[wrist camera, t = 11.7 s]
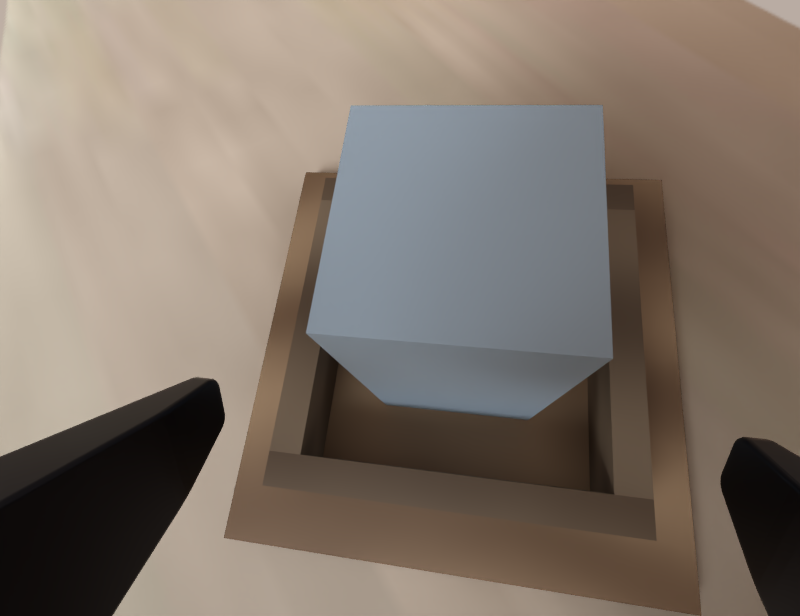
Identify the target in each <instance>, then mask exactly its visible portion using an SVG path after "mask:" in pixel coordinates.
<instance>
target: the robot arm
mask: <svg viewBox="0 0 800 616" xmlns="http://www.w3.org/2000/svg"><path fill="white" fill-rule="evenodd" d="M224 420H225V412H224V407H223V402H222V398H221V393H220V388H219V384H218V383H217V381H215V380H214V379H208V378H199V377H196V378H191V379H189V380H186V381H184V382H182V383H179V384H177V385H174V386H172V387H169V388H167V389H164V390H162V391H160V392H157V393H155V394H152V395H150V396H147V397H145V398H142V399H140V400H138V401H135V402H133V403H130V404H128V405H125V406H123V407H120V408H118V409H116V410H113V411H111V412H108V413H106V414H103V415H101V416H98V417H96V418H94V419H91V420H89V421H86V422H84V423H81V424H79V425H77V426H74V427H72V428H69V429H67V430H64V431H62V432H59V433H57V434H55V435H52V436H50V437H47V438H45V439H42V440H40V441H37V442H35V443H33V444H30V445H28V446H25V447H23V448H20V449H18V450H15V451H13V452H11V453H8V454H6V455H3V456H1V457H0V616H112V615H113V614H114V612H115V611H116V609H117V608H118V606H119V604H120V603H121V601H122V600H123V598H124V597H125V595H126V593H127V592H128V590H129V589H130V587H131V585H132V584H133V582H134V581H135V579H136V578H137V576H138V574H139V573H140V571H141V570H142V568H143V566H144V565H145V563H146V562H147V560H148V559H149V557H150V555H151V554H152V552H153V551H154V549H155V547H156V546H157V544H158V543H159V541H160V540H161V538H162V536H163V535H164V533H165V532H166V530H167V529H168V527H169V525H170V524H171V522H172V521H173V519H174V517H175V516H176V514H177V513H178V511H179V509H180V508H181V506H182V504H183V503H184V501H185V499H186V498H187V496H188V494H189V492H190V490H191V489H192V487H193V485H194V483H195V481H196V479H197V477H198V475H199V473H200V471H201V469H202V467H203V465H204V463H205V461H206V459H207V457H208V455H209V453H210V451H211V449H212V447H213V445H214V443H215V441H216V439H217V437H218V435H219V433H220V431H221V429H222V427H223V424H224ZM721 489H722V493H723V496H724V499H725V501H726V504H727V507H728V510H729V513H730V516H731V519H732V522H733V525H734V527H735V530H736V533H737V536H738V539H739V542H740V545H741V548H742V550H743V553H744V556H745V559H746V562H747V565H748V568H749V571H750V573H751V576H752V579H753V581H754V584H755V586H756V589H757V591H758V593H759V596H760V598H761V600H762V603H763V605H764V607H765V609H766V611H767V614H768V616H800V457H799V456H797V455H795V454H794V453H792V452H790V451H789V450H787V449H785V448H784V447H782V446H780V445H778V444H777V443H775V442H773V441H771V440H767V439H759V438H749V437H742V438H739V439H737V440H736V441H735V443H734V445H733V447H732V450H731V452H730V455H729V457H728V459H727V462H726V464H725V467H724V469H723V472H722V475H721Z"/></svg>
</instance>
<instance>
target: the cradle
mask: <svg viewBox="0 0 800 616" xmlns="http://www.w3.org/2000/svg"><path fill="white" fill-rule="evenodd" d="M337 174H338V173H311V172H306V175H305V179H304V184H303V188H302V193H301V197H300V201H299V206H298V210H297V215H296V219H295V224H294V228H293V233H292V237H291V241H290V246H289V250H288V255H287V259H286V264H285V268H284V273H283V277H282V281H281V286H280V290H279V295H278V299H277V304H276V308H275V313H274V317H273V321H272V326H271V330H270V335H269V339H268V344H267V348H266V353H265V357H264V361H263V366H262V370H261V375H260V379H259V384H258V388H257V393H256V397H255V401H254V406H253V410H252V415H251V419H250V424H249V428H248V433H247V437H246V441H245V446H244V450H243V455H242V459H241V464H240V468H239V473H238V477H237V481H236V486H235V490H234V495H233V499H232V504H231V508H230V513H229V517H228V521H227V526H226V530H225V535H224V538H228V539H234V540H240V541H246V542H253V543H259V544H265V545H271V546H277V547H283V548H289V549H295V550H302V551H308V552H314V553H320V554H326V555H332V556H338V557H344V558H351V559H357V560H363V561H369V562H375V563H381V564H387V565H393V566H400V567H406V568H412V569H418V570H424V571H430V572H436V573H442V574H449V575H455V576H461V577H467V578H473V579H479V580H485V581H491V582H498V583H504V584H510V585H516V586H522V587H528V588H534V589H540V590H547V591H553V592H559V593H565V594H571V595H577V596H583V597H589V598H596V599H602V600H608V601H614V602H620V603H626V604H632V605H638V606H645V607H651V608H657V609H663V610H669V611H675V612H681V613H687V614H694V615H700V616H701V605H700V595H699V584H698V573H697V562H696V551H695V540H694V529H693V518H692V507H691V496H690V486H689V475H688V464H687V453H686V442H685V431H684V420H683V409H682V398H681V387H680V377H679V366H678V355H677V344H676V333H675V322H674V311H673V300H672V289H671V278H670V267H669V257H668V246H667V235H666V224H665V213H664V202H663V191H662V180H633V179H606V197H607V222H608V246H609V271H610V295H611V320H612V344H613V359H612V360H611V361H609V362H608V363H606V364H605V365H604V366H602V367H601V368H599V369H598V370H597V371H595V372H594V373H593V374H591V375H590V376H588V377H587V378H586V379H584V380H583V381H581V382H580V383H579V384H577V385H576V386H575V387H573V388H572V389H570V390H569V391H568V392H566V393H565V394H564V395H562V396H561V397H559V398H558V399H557V400H555V401H554V402H552V403H551V404H550V405H548V406H547V407H546V408H544V409H543V410H541V411H540V412H539V413H537V414H536V415H535V416H533V417H532V418H530V419H529V420H522V419H513V418H503V417H494V416H485V415H475V414H466V413H456V412H447V411H438V410H428V409H419V408H410V407H400V406H391V405H385V404H384V403H383V402H382V401H381V400H380V399H379V398H378V397H377V396H375V395H374V394H373V393H372V392H371V391H370V390H369V389H368V388H367V387H365V386H364V385H363V384H362V383H361V382H360V381H359V380H358V379H356V378H355V377H354V376H353V375H352V374H351V373H350V372H349V371H348V370H346V369H345V368H344V367H343V366H342V365H341V364H340V363H339V362H338V361H336V360H335V359H334V358H333V357H332V356H331V355H330V354H329V353H328V352H326V351H325V350H324V349H323V348H322V347H321V346H320V345H319V344H317V343H316V342H315V341H314V340H313V339H312V338H311V337H310V336H309V335H307V334H306V330H307V325H308V320H309V315H310V310H311V305H312V300H313V295H314V290H315V285H316V280H317V275H318V270H319V264H320V259H321V254H322V249H323V244H324V239H325V234H326V229H327V224H328V219H329V214H330V209H331V204H332V199H333V194H334V189H335V184H336V179H337Z"/></svg>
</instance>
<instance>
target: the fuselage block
mask: <svg viewBox="0 0 800 616" xmlns="http://www.w3.org/2000/svg"><path fill="white" fill-rule="evenodd" d="M306 334H307V335H309V336H310V337H311V338H312V339H313V340H314V341H315V342H316V343H317V344H319V345H320V346H321V347H322V348H323V349H324V350H325V351H326V352H328V353H329V354H330V355H331V356H332V357H333V358H334V359H335V360H336V361H338V362H339V363H340V364H341V365H342V366H343V367H344V368H345V369H346V370H348V371H349V372H350V373H351V374H352V375H353V376H354V377H355V378H356V379H358V380H359V381H360V382H361V383H362V384H363V385H364V386H365V387H367V388H368V389H369V390H370V391H371V392H372V393H373V394H374V395H375V396H377V397H378V398H379V399H380V400H381V401H382V402H383V403H384V404H385V405H391V406H400V407H410V408H419V409H428V410H438V411H447V412H456V413H466V414H475V415H485V416H494V417H503V418H513V419H522V420H529V419H530V418H532V417H533V416H535V415H536V414H537V413H539V412H540V411H541V410H543V409H544V408H546V407H547V406H548V405H550V404H551V403H552V402H554V401H555V400H557V399H558V398H559V397H561V396H562V395H564V394H565V393H566V392H568V391H569V390H570V389H572V388H573V387H575V386H576V385H577V384H579V383H580V382H581V381H583V380H584V379H586V378H587V377H588V376H590V375H591V374H593V373H594V372H595V371H597V370H598V369H599V368H601V367H602V366H604V365H605V364H606V363H608V362H609V361H611V360H612V359H613V344H612V320H611V295H610V271H609V246H608V222H607V197H606V173H605V148H604V124H603V105H393V106H351V108H350V113H349V118H348V123H347V128H346V133H345V138H344V143H343V148H342V153H341V158H340V163H339V169H338V174H337V179H336V184H335V189H334V194H333V199H332V204H331V209H330V214H329V219H328V224H327V229H326V234H325V239H324V244H323V249H322V254H321V259H320V264H319V270H318V275H317V280H316V285H315V290H314V295H313V300H312V305H311V310H310V315H309V320H308V325H307V330H306Z"/></svg>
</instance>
